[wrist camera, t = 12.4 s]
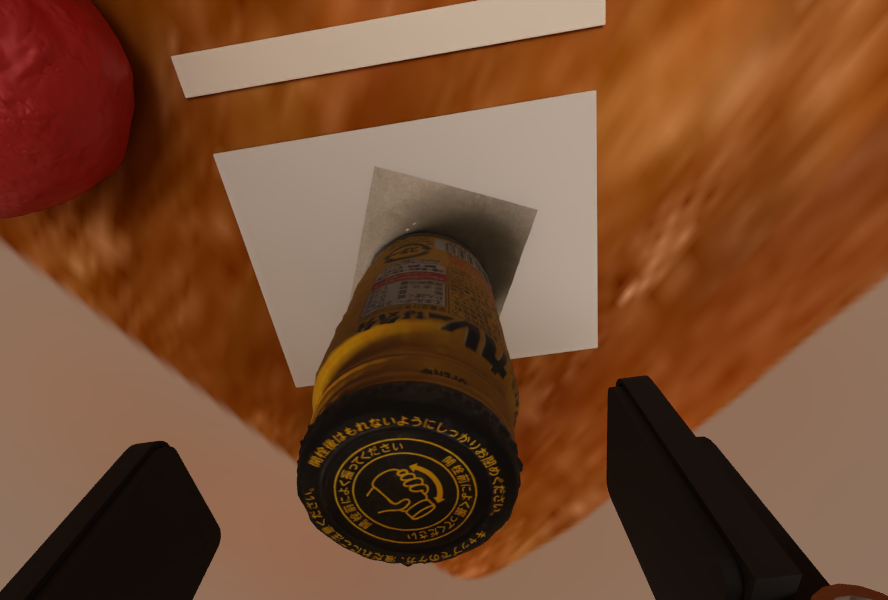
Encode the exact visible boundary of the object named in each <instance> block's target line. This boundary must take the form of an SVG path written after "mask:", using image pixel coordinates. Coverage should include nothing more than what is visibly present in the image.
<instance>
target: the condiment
mask: <svg viewBox="0 0 888 600" xmlns="http://www.w3.org/2000/svg"><path fill="white" fill-rule="evenodd" d="M537 211H538V210H536V209H533V208H529V207H526V206H521V205H518V204H515V203H512V202H508V201H504V200H501V199H497V198H493V197H489V196H485V195H482V194H479V193H475V192H471V191H467V190H464V189H460V188H456V187H452V186H449V185H445V184H443V183H437V182H433V181H429V180H425V179H422V178H418V177H414V176H411V175H407V174H403V173H399V172H395V171H391V170H387V169H384V168H380V167H376V166H375V167H374V172H373V177H372V182H371V187H370V193H369V199H368V204H367V209H366V214H365V221H364V226H363V231H362V236H361V242H360V247H359V253H358V259H357V264H356V270H355V275H354V280H353V286H352V291H351V297H350V302H349V306H348V309H347V312H346V313H345V314H344V315H343V319H342V321H341V322H340V323H339V325H338V326H337V328H336V330H335V335H334V337H333V339H332V341H331V343H330V345H329V347H328V349H327V351H326V353H325V356H324V358H323V360H322V362H321V365H320V366H319V369H318V371H317V372H316V378H315V384H314V388H313V397H312V406H313V414H312V418H311V423H310V425H309V426H308V431H307V433H306V435H305V436H304V439H303V440H302V441H300V443H301V448H300V451H299V460H298V461H297V463H298V467H297V474H298V475H297V490H298V496H299V498H300V500H301V502H302V503H303V505H304V506H305V508H306V510H307V512H308V514H309V518H310V520H311V522H312V523H313V524H314V525H315V526H316V528H317V529H318V530H320V531H321V532H322V533H324V534H325V535H326V536H328V537H329V538H331V539H332V540H334V541H335V542H336V543H338V544H339V545H341V546H342V547H344V548H346V549H348V550H351V551H353V552H355V553H357V554H360V555H361V556H363V557H366V558H369V559H372V560H379V561H384V562H387V563H402V564H403V565H405V566H411V565H412V564H417V563H424V564H425V563H429V562H433V563H436V562H441V561H444V560H447V559H451V558H454V557H456V556H458V555H460V554H462V553H465V552H468V551H470V550H472V549H474V548H476V547H478V546H480V545H482V544H483V543H484V542H486V541H487V540H489V538H490V537H491V536H492V535H493V534H494V533H495V532H496V531H497V530H499V529H500V528H501V527H502V526H503V525H504V524H505V523H506V521H508V520H509V518H510V516H511V513H512V509H513V506H514V504H515V502H516V499H517V496H518V489H519V487H520V485H521V482H520V472H521V471H522V467H523V464H522V462H521V460H520V459H519V458H518V451H517V444H516V443H515V442H514V439H515V435H514V427H515V422H516V419H517V415H518V408H519V393H518V388H517V383H516V379H515V375H514V371H513V367H512V363H511V360H510V356H509V352H508V349H507V346H506V342H505V338H504V334H503V329H502V326H501V323H500V319H499V317H500V314H501V312H502V309H503V305H504V303H505V300H506V298H507V295H508V293H509V289H510V287H511V285H512V282H513V279H514V276H515V273H516V270H517V267H518V264H519V262H520V258H521V255H522V253H523V250H524V247H525V244H526V242H527V239H528V236H529V234H530V231H531V229H532V225H533V222H534V219H535V217H536V214H537ZM416 222H417V223H416ZM413 223H415V224H414V225H413ZM406 229H409V230H407V231H406Z"/></svg>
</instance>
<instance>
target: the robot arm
mask: <svg viewBox="0 0 888 600" xmlns="http://www.w3.org/2000/svg"><path fill="white" fill-rule="evenodd" d="M607 487H608V491H609V494H610V497H611V500H612V502H613V504H614V506H615V509H616V511H617V513H618V516H619V518H620V520H621V522H622V525H623V527H624V529H625V531H626V533H627V536H628V538H629V540H630V543H631V545H632V547H633V549H634V552H635V554H636V556H637V558H638V561H639V563H640V565H641V568H642V570H643V572H644V574H645V577H646V579H647V581H648V583H649V585H650V588H651V590H652V592H653V595H654V597H655V599H656V600H888V596H887V595H885V594H883V593H880V592H877V591H874V590H871V589H868V588H864V587H861V586H857V585H847V584H835V585H829V583H828V582H827V581H826V580H825V579H824V577H823V576H822V575H821V574H820V572H819V571H818V570H817V569H816V567H815V566H814V565H813V564H812V563H811V561H810V560H809V559H808V558H807V557H806V555H805V554H804V553H803V552H802V550H801V549H800V548H799V547H798V545H797V544H796V543H795V542H794V541H793V539H792V538H791V537H790V536H789V534H788V533H787V532H786V531H785V530H784V528H783V527H782V526H781V525H780V523H779V522H778V521H777V520H776V519H775V517H774V516H773V515H772V514H771V512H770V511H769V510H768V509H767V507H765V505H764V504H763V503H762V501H761V500H760V499H759V498H758V496H757V495H756V494H755V493H754V491H753V490H752V489H751V488H750V487H749V485H748V484H747V483H746V482H745V481H744V479H743V478H742V477H741V476H740V474H739V473H738V472H737V471H736V469H735V468H734V467H733V466H732V465H731V463H730V462H729V461H728V460H727V459H726V457H725V456H724V455H723V454H722V452H721V451H720V450H719V449H718V447H717V446H716V445H715V444H714V443H713V442H712V441H711V440H709V439H708V438H706V437H696V436H695V435H694V434H693V432H692V431H691V430H690V429H689V427H688V426H687V425H686V423H685V422H684V421H683V420H682V418H681V417H680V416H679V414H678V413H677V412H676V411H675V409H674V408H673V407H672V405H671V404H670V403H669V402H668V400H667V399H666V398H665V396H664V395H663V394H662V393H661V391H660V390H659V389H658V387H657V386H656V385H655V384H654V382H653V381H652V380H651V379H650V378H649V377H648V376H646V375H645V376H637V377H630V378H623V379H618V380H617V382H616V387H610V388H609V389H608V417H607ZM220 539H221V532H220V528H219V526H218V524H217V522H216V521H215V518H214V517H213V515H212V513H211V511H210V510H209V508H208V506H207V504H206V503H205V501H204V499H203V497H202V495H201V494H200V492H199V490H198V488H197V486H196V485H195V483H194V481H193V479H192V478H191V476H190V474H189V472H188V470H187V469H186V467H185V465H184V463H183V462H182V460H181V458H180V456H179V454H178V453H177V451H176V450H175V448H173V447H170V446H169V445H168V443H166V442H164V441H155V442H147V443H141V444H135V445H132V446H130V447H129V448H128V449H127V450H126V451H125V452H124V453H123V454H122V455H121V456H120V457H119V459H118V460H117V461H116V462H115V463H114V464H113V466H111V468H110V469H109V470H108V471H107V472H106V473H105V474H104V475H103V477H102V478H101V479H100V480H99V481H98V482H97V484H95V486H94V487H93V488H92V489H91V490H90V491H89V492H88V494H87V495H86V496H85V497H84V498H83V499H82V500H81V502H80V503H79V504H78V505H77V506H76V507H75V508H74V509H73V511H72V512H71V513H70V514H69V515H68V516H67V517H66V518H65V520H64V521H63V522H62V523H61V524H60V525H59V526H58V528H57V529H56V530H55V531H54V532H53V533H52V534H51V535H50V537H48V539H47V540H46V541H45V542H44V543H43V544H42V545H41V546H40V548H39V549H38V550H37V551H36V552H35V553H34V554H33V556H32V557H31V558H30V559H29V560H28V561H27V562H26V563H25V565H24V566H23V567H22V568H21V569H20V570H19V571H18V573H17V574H16V575H15V576H14V577H13V578H12V579H11V580H10V581H9V583H8V584H7V585H6V586H5V587H4V588H3V589H2V590H1V592H0V600H193V597H194V595H195V593H196V591H197V589H198V587H199V585H200V583H201V581H202V579H203V576H204V575H205V573H206V571H207V568H208V567H209V565H210V563H211V561H212V559H213V557H214V554H215V552H216V550H217V548H218V546H219V543H220Z"/></svg>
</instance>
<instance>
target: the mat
mask: <svg viewBox="0 0 888 600" xmlns="http://www.w3.org/2000/svg"><path fill="white" fill-rule="evenodd" d="M213 156H214V159H215V161H216V164H217V167H218V170H219V173H220V176H221V178H222V181H223V184H224V187H225V190H226V192H227V195H228V198H229V201H230V204H231V206H232V209H233V212H234V215H235V218H236V220H237V223H238V226H239V229H240V232H241V234H242V237H243V240H244V243H245V246H246V249H247V251H248V254H249V257H250V260H251V263H252V265H253V268H254V271H255V274H256V277H257V279H258V282H259V285H260V288H261V291H262V293H263V296H264V299H265V302H266V305H267V307H268V310H269V313H270V316H271V319H272V322H273V324H274V327H275V330H276V333H277V336H278V338H279V341H280V344H281V347H282V350H283V352H284V355H285V358H286V361H287V364H288V366H289V369H290V372H291V375H292V378H293V380H294V383H295V386H296V388H298V387H305V386H313V385H314V384H315V378H316V372H317V371H318V369H319V366H320V365H321V362H322V360H323V358H324V356H325V353H326V351H327V349H328V347H329V345H330V343H331V341H332V339H333V337H334V335H335V330H336V328H337V326H338V325H339V323H340V322H341V321H342V319H343V315H344V314H345V313H346V312H347V309H348V306H349V302H350V297H351V291H352V286H353V280H354V275H355V270H356V264H357V259H358V253H359V247H360V242H361V236H362V231H363V226H364V221H365V214H366V209H367V204H368V199H369V193H370V187H371V182H372V177H373V172H374V167H375V166H376V167H380V168H384V169H387V170H391V171H395V172H399V173H403V174H407V175H411V176H414V177H418V178H422V179H425V180H429V181H433V182H437V183H443V184H445V185H449V186H452V187H456V188H460V189H464V190H467V191H471V192H475V193H479V194H482V195H485V196H489V197H493V198H497V199H501V200H504V201H508V202H512V203H515V204H518V205H521V206H526V207H529V208H533V209H536V210H538V211H537V214H536V217H535V219H534V222H533V225H532V229H531V231H530V234H529V236H528V239H527V242H526V244H525V247H524V250H523V253H522V255H521V258H520V262H519V264H518V267H517V270H516V273H515V276H514V279H513V282H512V285H511V287H510V289H509V293H508V295H507V298H506V300H505V303H504V305H503V309H502V312H501V314H500V317H499V319H500V323H501V326H502V329H503V334H504V338H505V342H506V346H507V349H508V352H509V356H510V359H516V358H523V357H531V356H538V355H546V354H553V353H561V352H568V351H576V350H583V349H591V348H598V307H597V143H596V90H594V91H587V92H581V93H575V94H569V95H563V96H557V97H552V98H546V99H540V100H534V101H528V102H522V103H516V104H510V105H504V106H498V107H492V108H486V109H480V110H474V111H468V112H462V113H456V114H450V115H444V116H438V117H432V118H426V119H420V120H414V121H408V122H402V123H396V124H390V125H384V126H378V127H372V128H366V129H360V130H354V131H348V132H342V133H336V134H330V135H324V136H318V137H312V138H306V139H300V140H294V141H288V142H282V143H276V144H270V145H264V146H258V147H252V148H246V149H240V150H234V151H228V152H222V153H217V154H213ZM416 223H417V222H416ZM414 224H415V223H413V225H414ZM407 230H409V229H406V231H407Z"/></svg>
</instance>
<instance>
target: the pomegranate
mask: <svg viewBox="0 0 888 600" xmlns="http://www.w3.org/2000/svg"><path fill="white" fill-rule="evenodd" d="M134 109H135V103H134V90H133V73H132V70H131V66H130V63H129V61H128V58H127V56H126V54H125V52H124V50H123V48H122V46H121V44H120V42H119V41H118V39H117V37H116V35H115V34H114V32H113V31H112V30H111V28H110V27H109V25H108V23H107V22H106V20H105V19H104V18H103V16H102V15H101V13H100V12H99V11H98V10H97V8H96V7H95V6H94V5H93V3H92V2H91V0H0V219H2V218H10V217H16V216H22V215H25V214H29V213H32V212H36V211H40V210H43V209H46V208H49V207H52V206H56V205H60V204H63V203H65V202H67V201H69V200H71V199H73V198H74V197H76V196H78V195H80V194H82V193H84V192H86V191H88V190H89V189H91V188H92V187H93V186H95V185H96V184H97V183H98V182H99V181H100V180H102V179H103V178H105V177H107V176H109V175H111V173H112V172H114V171H115V170H117V169H118V168H119V166H120V164H121V163H122V161H123V160H124V157H125V153H126V151H127V144H128V140H129V135H130V128H131V120H132V116H133V111H134Z"/></svg>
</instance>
